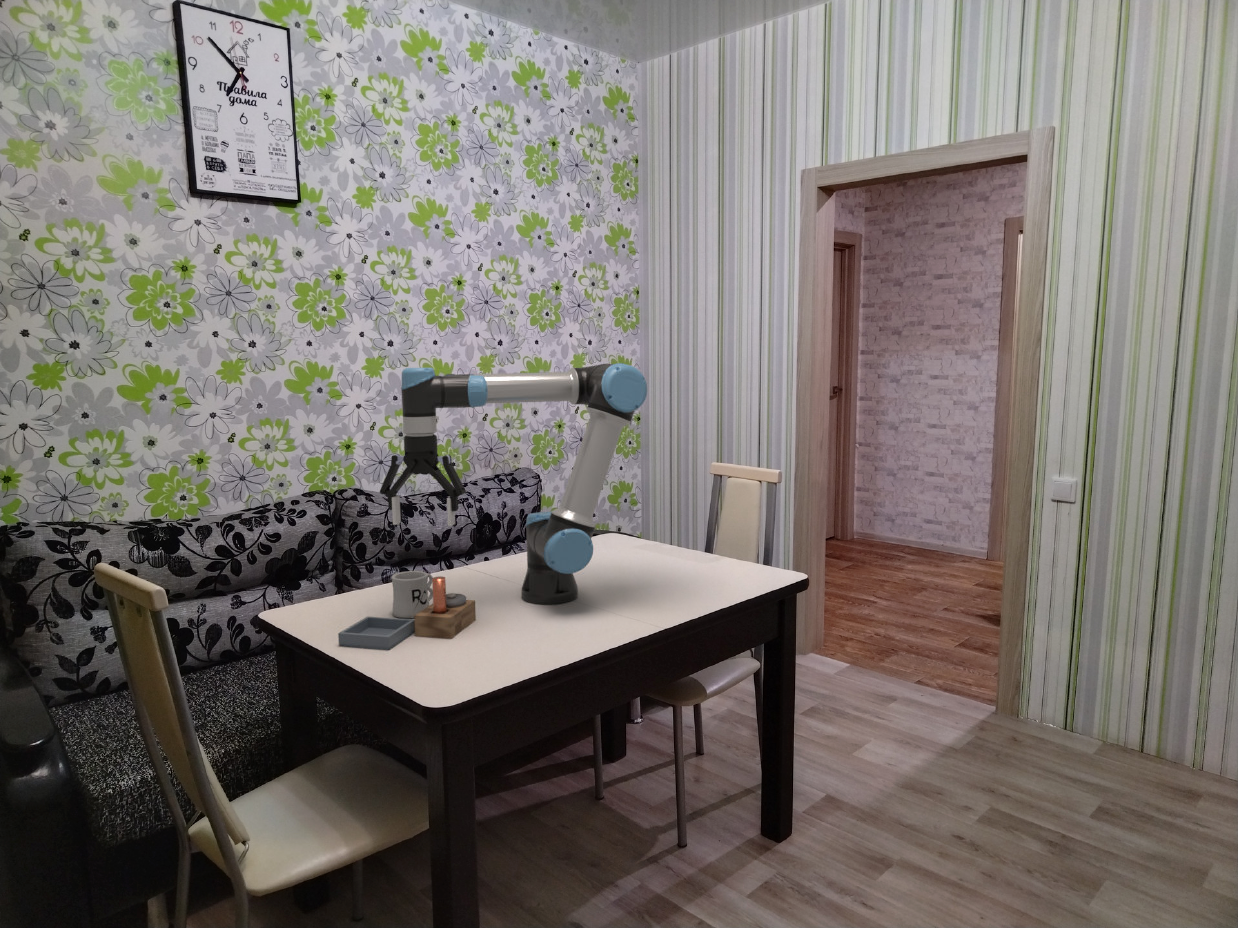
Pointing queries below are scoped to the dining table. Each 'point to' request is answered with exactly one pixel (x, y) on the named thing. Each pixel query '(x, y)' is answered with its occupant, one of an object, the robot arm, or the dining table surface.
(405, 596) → the mug
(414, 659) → the dining table surface
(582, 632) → the dining table surface
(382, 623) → the tray
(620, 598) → the dining table surface
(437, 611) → the pin
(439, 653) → the dining table surface
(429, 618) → the block
